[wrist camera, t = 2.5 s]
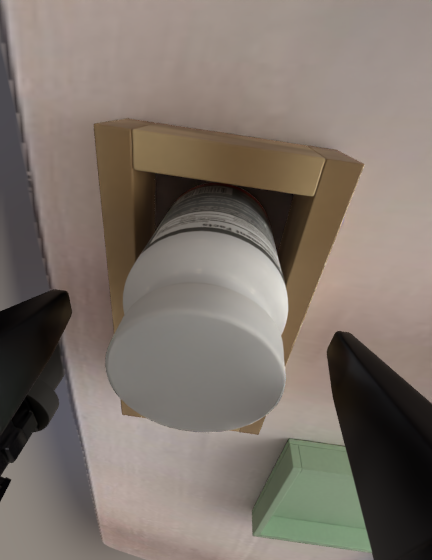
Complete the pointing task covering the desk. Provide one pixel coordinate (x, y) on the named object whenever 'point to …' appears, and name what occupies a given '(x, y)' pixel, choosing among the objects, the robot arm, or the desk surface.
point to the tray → (311, 499)
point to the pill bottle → (203, 316)
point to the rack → (230, 170)
